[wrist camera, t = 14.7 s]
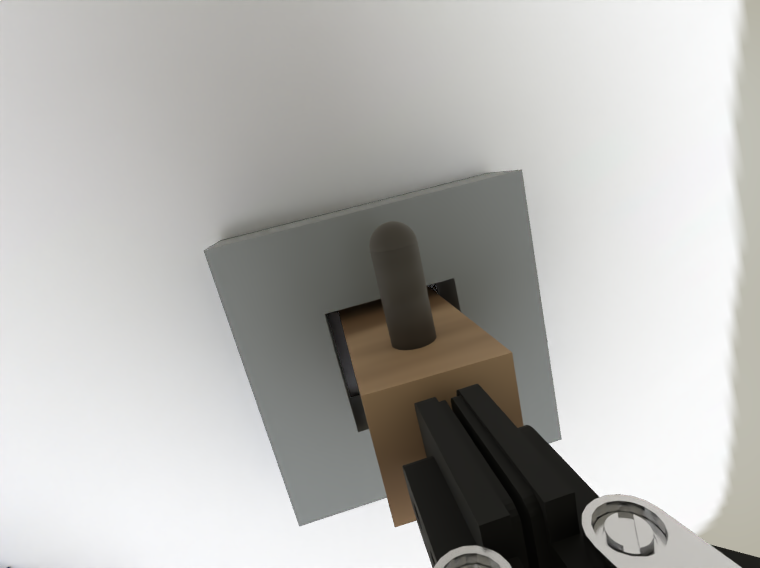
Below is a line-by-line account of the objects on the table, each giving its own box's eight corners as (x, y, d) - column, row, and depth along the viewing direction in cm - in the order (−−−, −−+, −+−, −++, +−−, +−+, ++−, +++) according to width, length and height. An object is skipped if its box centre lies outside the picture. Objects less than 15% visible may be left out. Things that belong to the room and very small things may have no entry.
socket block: (220, 240, 18) (203, 250, 15) (489, 172, 19) (521, 169, 16) (300, 479, 21) (299, 526, 18) (527, 406, 22) (561, 439, 19)
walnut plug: (315, 222, 18) (323, 250, 10) (404, 200, 19) (489, 209, 10) (362, 404, 20) (404, 562, 12) (441, 381, 21) (537, 517, 12)
